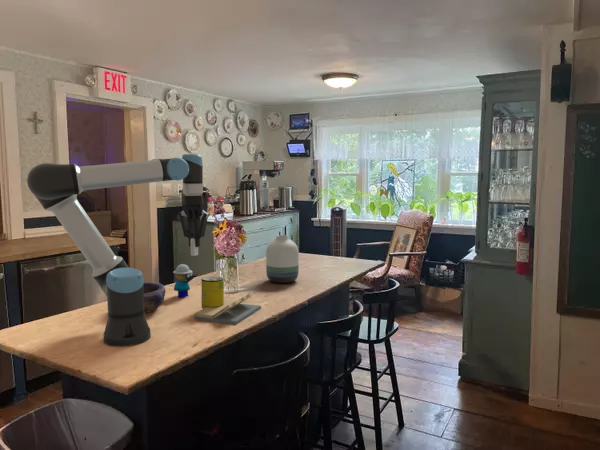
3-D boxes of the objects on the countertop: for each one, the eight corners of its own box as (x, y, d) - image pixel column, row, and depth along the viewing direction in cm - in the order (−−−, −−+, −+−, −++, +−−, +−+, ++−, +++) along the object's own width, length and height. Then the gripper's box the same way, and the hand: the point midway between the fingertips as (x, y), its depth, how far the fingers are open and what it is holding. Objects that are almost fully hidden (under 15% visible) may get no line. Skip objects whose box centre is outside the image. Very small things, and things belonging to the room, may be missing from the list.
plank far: (244, 299, 184) (243, 297, 184) (230, 309, 187) (228, 306, 187) (255, 293, 194) (253, 291, 194) (241, 302, 196) (239, 300, 196)
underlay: (236, 324, 173) (236, 318, 173) (194, 319, 179) (194, 313, 179) (260, 308, 193) (260, 302, 193) (222, 304, 199) (222, 298, 199)
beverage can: (220, 303, 197) (220, 275, 195) (226, 308, 188) (226, 279, 187) (199, 305, 193) (199, 277, 192) (204, 311, 185) (203, 281, 184)
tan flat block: (230, 307, 173) (228, 305, 173) (214, 317, 176) (213, 315, 176) (242, 300, 182) (240, 298, 182) (227, 310, 185) (226, 308, 185)
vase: (262, 284, 236) (261, 237, 234) (271, 277, 253) (271, 233, 250) (294, 286, 232) (294, 238, 230) (301, 278, 249) (302, 234, 246)
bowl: (117, 318, 179) (116, 293, 178) (122, 306, 197) (121, 283, 195) (165, 315, 184) (165, 290, 183) (166, 303, 201) (165, 280, 200)
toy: (188, 299, 207) (187, 266, 206) (170, 298, 209) (169, 265, 207) (196, 294, 216) (195, 262, 214) (178, 293, 217) (178, 262, 216)
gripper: (213, 194, 179) (214, 254, 182) (184, 194, 184) (185, 252, 186) (202, 195, 172) (204, 257, 175) (172, 194, 177) (174, 255, 179)
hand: (194, 255), depth 181 cm, fingers closed
